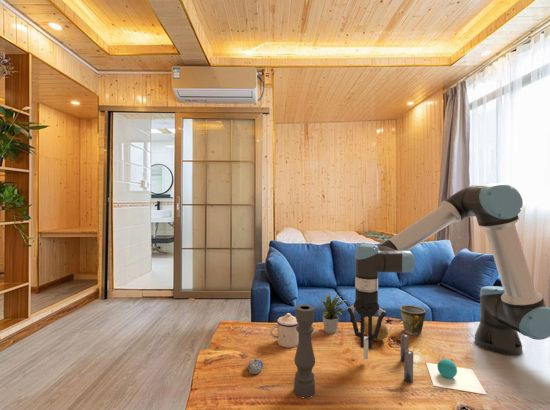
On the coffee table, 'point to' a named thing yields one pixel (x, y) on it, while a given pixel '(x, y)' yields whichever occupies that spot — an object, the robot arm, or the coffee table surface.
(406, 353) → the post
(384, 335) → the potato
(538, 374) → the coffee table surface
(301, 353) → the candle holder
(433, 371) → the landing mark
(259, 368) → the decorative stone
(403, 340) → the post
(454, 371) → the ball
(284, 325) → the teacup with lid
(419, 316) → the ceramic cup
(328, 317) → the house plant
